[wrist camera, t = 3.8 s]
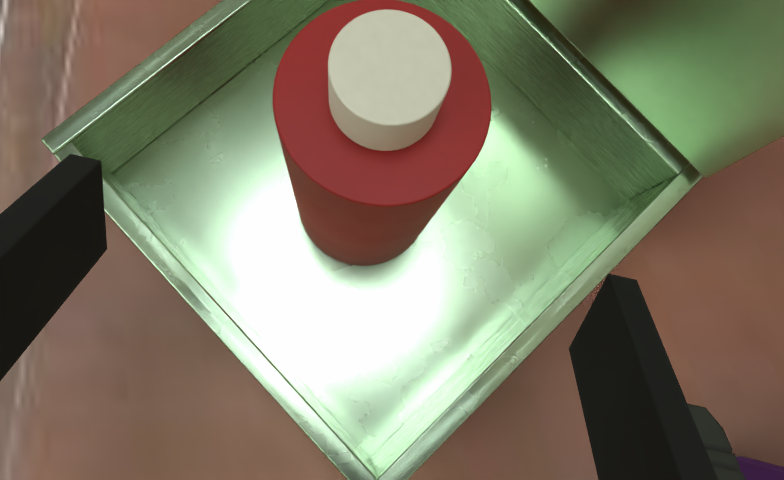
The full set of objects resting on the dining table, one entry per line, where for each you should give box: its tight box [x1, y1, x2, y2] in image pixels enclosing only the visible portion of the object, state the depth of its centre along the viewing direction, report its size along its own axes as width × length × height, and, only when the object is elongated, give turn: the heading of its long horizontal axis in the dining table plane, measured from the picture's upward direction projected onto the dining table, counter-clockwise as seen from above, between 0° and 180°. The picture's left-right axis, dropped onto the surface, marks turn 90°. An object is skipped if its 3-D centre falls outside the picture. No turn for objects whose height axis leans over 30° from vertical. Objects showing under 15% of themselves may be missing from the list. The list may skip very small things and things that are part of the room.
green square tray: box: [41, 0, 703, 480], centre depth 27 cm, size 19×19×5 cm
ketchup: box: [273, 0, 492, 266], centre depth 22 cm, size 6×6×14 cm
